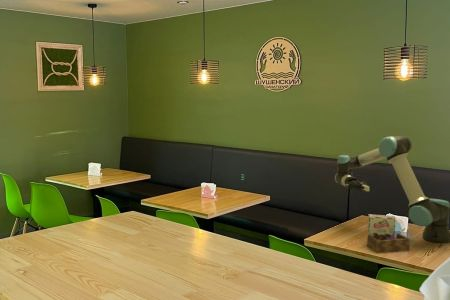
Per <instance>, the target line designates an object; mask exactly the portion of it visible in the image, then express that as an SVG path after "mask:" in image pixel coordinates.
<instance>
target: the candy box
mask: <svg viewBox="0 0 450 300" xmlns="http://www.w3.org/2000/svg"><path fill="white" fill-rule="evenodd" d="M395 231H396V217H395V215H382V214H369V213H368V221H367V238H368V235H370V236H372V237H374V238H375V239H377V240H390V239H395V235H396V234H395Z"/></svg>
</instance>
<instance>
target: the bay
mask: <svg viewBox="0 0 450 300" xmlns="http://www.w3.org/2000/svg"><path fill="white" fill-rule="evenodd" d="M395 235H396V236H395V238H394V239H390V240H377V239H375V238H374V237H372V236H370V235H368V234H367V237H368V238H367V239H366V242H367V243H366V247H368V248H369V249H371V250H372V249H373V250H372V251H374V252H375V253H386V252H385V251H389V252H398V251H409V250H410V245H411V244H410V240H411V239H410V238H409V237H407V236H405V235H402V234H401V233H399V232H398V233H396V234H395Z"/></svg>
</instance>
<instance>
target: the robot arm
mask: <svg viewBox="0 0 450 300" xmlns="http://www.w3.org/2000/svg"><path fill="white" fill-rule="evenodd" d="M411 150H412V141H411V139H410V138H409V137H407V136H406V135H394V136H391V135H390V136H386V137H383V138H382V139H381V140H380V141H379V144H378V148H375V149H372V150H370V151H367V152H365V153H362V154H359V155H357V156H352V157H350V156H349V155H347V154H342V155H338V156H337V161H336V162H337V163H336V165H337V167H336V169H337V172H336V173H335V175H334V181H335V183H337V184H339V185H342V186H344V187H346V188H348V189H351V190H352V189H355V190H359V191H365V192H370V186H369V185H368V183H366V182H365V181H362V182H361V181H359V180H358V179H357V178H356V177H354V176H352V175H350V170H351V169H352V170H353V169H359V168H363V167H365V166H367V165H370V164H373V163H376V162H378V161H381V160H385V159H386V160H387V163H389V164H391V165H392V167H393V169H394V171H395V173H396V176H397V178H398V180H399V182H400V184H401V186H402V189H403V191H404V192H405V196H406V197H407V199H408V201H409V204H408V208H409V210H408V218H409V220H410V221H411V223H413V224H414V225H416V226H418V227H424V230H423V232H422V235H421V237H422V239H423V240H425V241H428V242H433V243H440V244H445V243H450V228H449V223H450V222H449V221H450V202H449V201H448V200H444V199H439V198H429V197H427V196H426V195H425V194H424V192H423V189H422V187H421V185H420V183H419V181H418V179H417V176H416V175H415V173H414V171H413V168H412V167H411V165H410V163H409V160H408V159H407V158H408V154H409V152H410V151H411Z"/></svg>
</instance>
